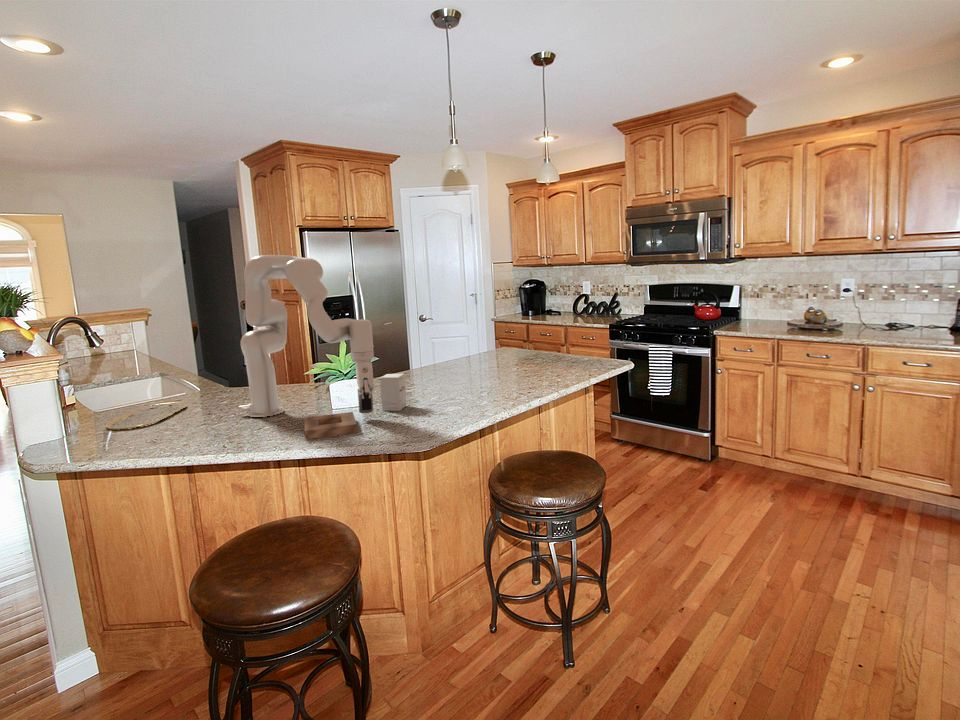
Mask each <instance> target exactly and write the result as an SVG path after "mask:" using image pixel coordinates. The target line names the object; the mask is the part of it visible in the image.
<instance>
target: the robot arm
mask: <svg viewBox="0 0 960 720" xmlns="http://www.w3.org/2000/svg"><path fill="white" fill-rule="evenodd" d="M243 274H244V277H243V278H244V284H245V305H244V306H245V310H244V311H245V320H246V323H247V324H248V325H249V326H250V327H254V328H260V329H255V330H249V331H247V332H246V333H245V334H244V335H243V336H241V339H240V348H241V352H242V355H243V356H244V357H243V358H244V361H245V367H246V375H247V380H248V381H247V382H248V389H249V396H250V403H248V404H247V405H239V406H238V411H239V412H247V416H248V417H249V416H250V417H249V418H252V417H263V418H268V417H267V416H270V417H274V416H273V415H275V416H278V415H280V413H281V414H282V413H283V412H285V409H284V407H283V406H280V405H279V396H278V395H279V394H278V387H277V385H278V384H277V378H276V370H275V365H274V362H273V360H272V359H271V357H270V354H273V353H277V352H280V351H282V350H283V349H284V348H285V347H286V344H287V340H288V339H287V338H288V311H287V307H286V306H285V304H284V303H283V302H282V301H281V300H279V299H275V298H274V299H273V298H272V288H271V286H270V283H269V281H268V280H282V279H283V280H284V279H287V281H289V282H290V284H291V285H292V287H293V288H294V289H295V291H296V293H298V294H299V296H300V297H301V298H302V299H303V301H304V302H305V304H306V314H307V318H308V321H309V323H310V325H311V328H313V330H314V331H315V332H316V334H317V335H318V336H319V337H320V338H321V339H322V341H324V342H326V343H328V344H336V343H340V342H344V341H348V340H349V345H350V346H349V347H350V357H351V359H350V360H351V362H352V363H355V365H354V366H355V376H356V377H355V378H356V382H357V387H358V389H360V390H361V391H362V399H361V401H362V410H371V409H372V405H371V397H370V388H371V389H372V391H373V390H374V389H375V382H374V374H373V363H372V361H371V360H372V359H371V358H374V359H375V356H374V354H375V353H374V352H375V351H374V339H373V324H372V322H371V320H369V319H365V318H364V319H363V318H362V319H354V318H349V317H348V318H347V317H345V318H344V317H343V318H339V319H333V320H332V319H331V317H330V316H329V315H328V313H327V312H326V310H325V308H324V305H323V304H324V303H323V302H325V300H326V299H327V297H328V295H329V291H328V289H327V288H326V287H325V285H324V284H323V283H322V281H321V279H322V278H323V277H324V275H323V274H324V269H323V267H322V264H321V263H320V262H319V261H317V260H316V259H314V258H309V257H302V256H294V255H288V254H287V255H286V254H263V255H262V254H261V255H257V256H254V257H252V258H250V259H249V260H248V261H247V262H246V264H245V267H244V271H243ZM261 327H265V328H262V329H261ZM363 388H364V389H365V390H363ZM363 392H364V393H363ZM277 414H278V415H277Z"/></svg>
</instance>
